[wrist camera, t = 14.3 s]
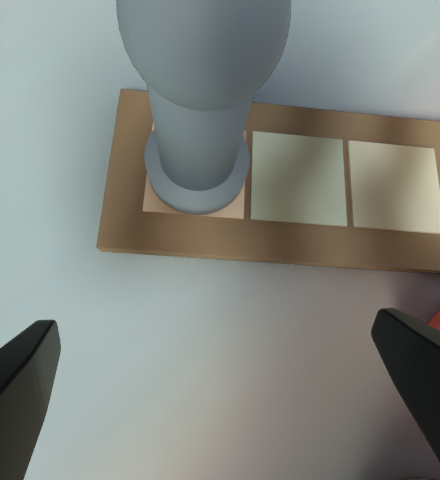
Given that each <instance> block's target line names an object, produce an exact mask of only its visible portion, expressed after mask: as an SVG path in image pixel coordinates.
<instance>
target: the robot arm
mask: <svg viewBox="0 0 440 480" xmlns="http://www.w3.org/2000/svg"><path fill="white" fill-rule="evenodd" d="M371 335H372V339H373V341H374V343H375V345H376V347H377V349H378V351H379V354H380V356H381V358H382V360H383V362H384V364H385V366H386V368H387V371H388V373H389V375H390V377H391V379H392V381H393V383H394V385H395V387H396V389H397V390H398V392H399V394H400V396H401V397H402V399H403V401H404V402H405V404H406V406H407V407H408V409H409V411H410V413H411V414H412V416H413V418H414V419H415V421H416V423H417V424H418V426H419V428H420V430H421V431H422V433H423V435H424V436H425V438H426V440H427V441H428V443H429V445H430V447H431V448H432V450H433V452H434V453H435V455H436V457H437V458H438V460H439V462H440V330H438V329H436V328H434V327H432V326H430V325H428V324H425V323H423V322H421V321H419V320H417V319H415V318H413V317H411V316H409V315H407V314H405V313H403V312H401V311H399V310H397V309H394V308H383V309H380V310H379V311H378V313H377V316H376V318H375V321H374V324H373V327H372V330H371ZM60 351H61V344H60V338H59V332H58V326H57V323H56V321H55V320H38V321H36V322H34V323H33V324H32V325H30V326H29V327H28V328H26V329H25V330H24V331H22V332H21V333H20V334H18V335H17V336H16V337H15V338H13V339H12V340H11V341H9V342H8V343H7V344H5V345H4V346H3V347H1V348H0V480H23V479H24V476H25V473H26V471H27V468H28V465H29V462H30V459H31V456H32V454H33V451H34V448H35V445H36V442H37V439H38V436H39V434H40V431H41V428H42V425H43V422H44V419H45V416H46V413H47V409H48V405H49V400H50V396H51V392H52V387H53V383H54V378H55V374H56V370H57V365H58V361H59V356H60Z"/></svg>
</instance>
